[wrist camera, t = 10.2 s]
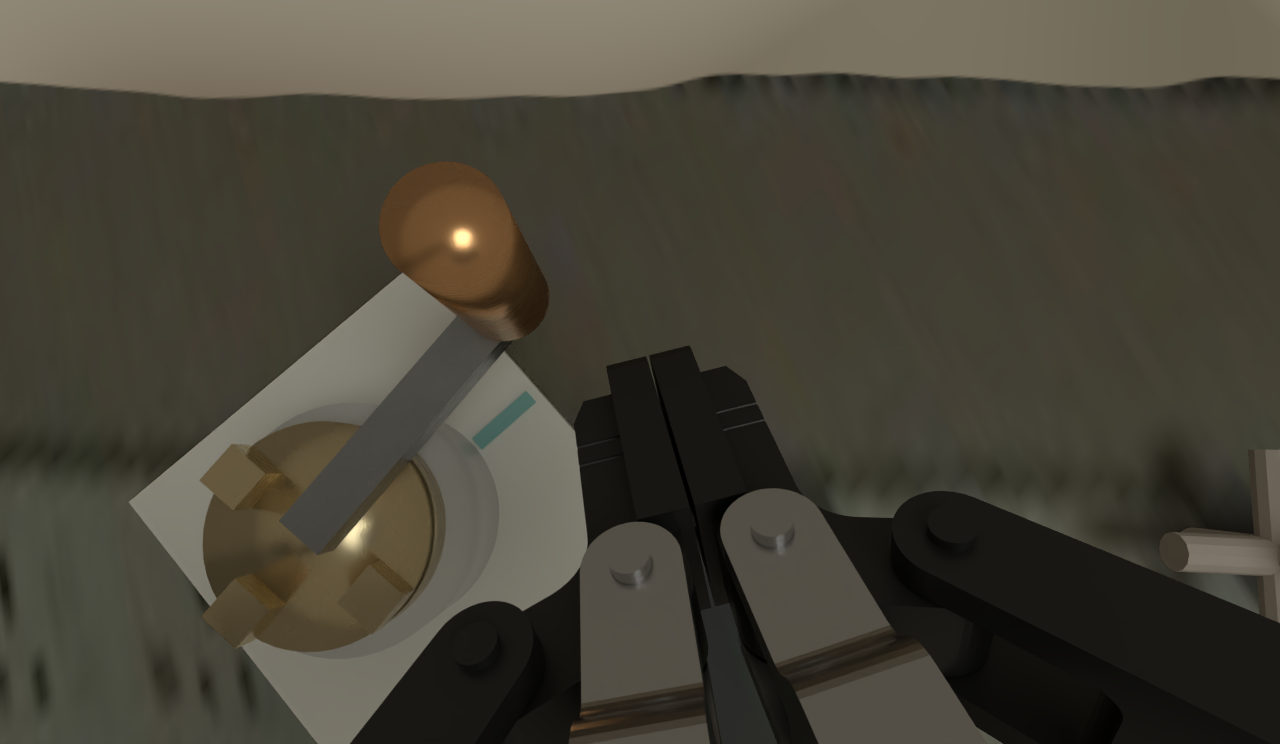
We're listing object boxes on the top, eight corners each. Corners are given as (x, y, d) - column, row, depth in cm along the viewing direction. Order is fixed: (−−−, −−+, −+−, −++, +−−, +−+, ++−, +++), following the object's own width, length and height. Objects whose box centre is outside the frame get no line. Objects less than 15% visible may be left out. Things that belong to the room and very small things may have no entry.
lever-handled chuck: (348, 681, 28) (130, 845, 16) (194, 543, 29) (-123, 601, 17) (623, 350, 30) (611, 275, 18) (472, 229, 31) (364, 78, 19)
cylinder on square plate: (377, 790, 35) (306, 879, 28) (149, 500, 37) (25, 509, 30) (662, 528, 37) (667, 545, 29) (429, 265, 39) (379, 218, 31)
